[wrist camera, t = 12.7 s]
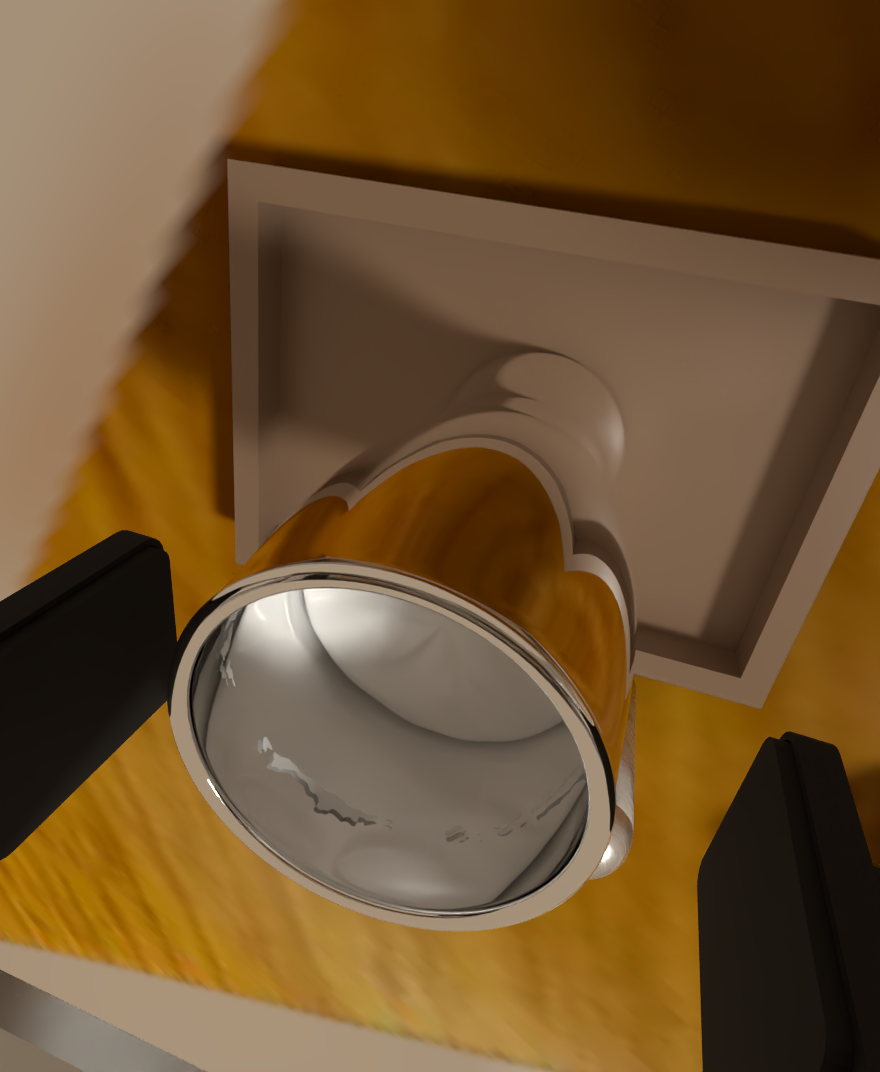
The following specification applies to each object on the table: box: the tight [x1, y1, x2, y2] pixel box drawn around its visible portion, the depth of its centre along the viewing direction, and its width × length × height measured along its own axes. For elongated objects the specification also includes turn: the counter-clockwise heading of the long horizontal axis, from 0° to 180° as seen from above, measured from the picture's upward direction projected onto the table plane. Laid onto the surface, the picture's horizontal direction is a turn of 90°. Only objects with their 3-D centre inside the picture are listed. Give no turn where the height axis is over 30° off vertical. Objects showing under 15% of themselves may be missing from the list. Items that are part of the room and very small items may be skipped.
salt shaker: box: [588, 680, 636, 880], centre depth 23 cm, size 3×3×8 cm
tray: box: [227, 159, 880, 709], centre depth 22 cm, size 20×14×2 cm
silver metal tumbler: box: [167, 351, 637, 931], centre depth 15 cm, size 7×7×15 cm
